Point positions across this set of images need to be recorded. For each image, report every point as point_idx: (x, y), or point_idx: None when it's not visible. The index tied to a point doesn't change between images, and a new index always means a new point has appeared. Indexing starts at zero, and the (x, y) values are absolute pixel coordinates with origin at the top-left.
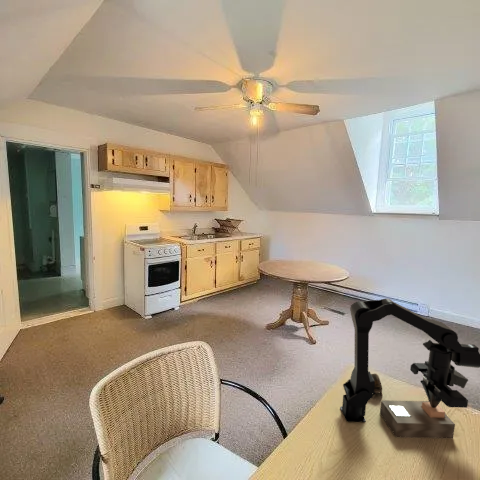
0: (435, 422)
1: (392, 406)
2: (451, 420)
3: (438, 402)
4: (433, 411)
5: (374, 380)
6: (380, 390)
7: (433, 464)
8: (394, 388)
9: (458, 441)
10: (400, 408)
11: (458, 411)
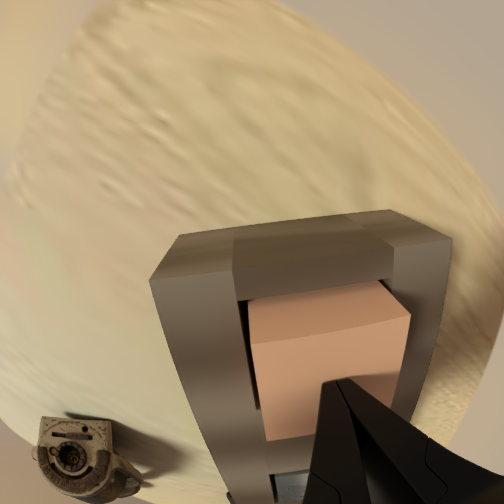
0: (418, 370)
1: (283, 498)
2: (418, 243)
3: (404, 431)
4: (389, 404)
5: (98, 497)
6: (124, 467)
7: (469, 358)
8: (19, 338)
9: (405, 189)
10: (296, 484)
11: (118, 24)
